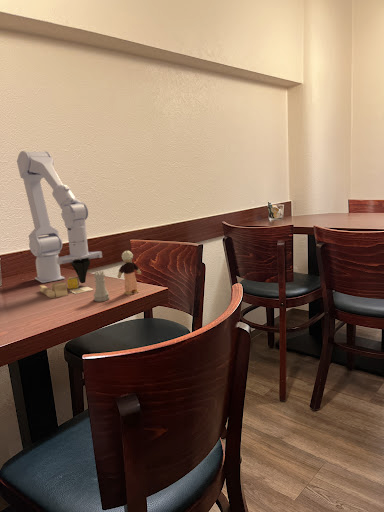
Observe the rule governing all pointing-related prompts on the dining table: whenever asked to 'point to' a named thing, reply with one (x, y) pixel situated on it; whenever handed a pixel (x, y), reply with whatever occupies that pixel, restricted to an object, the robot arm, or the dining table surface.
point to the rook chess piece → (100, 288)
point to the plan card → (81, 290)
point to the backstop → (47, 291)
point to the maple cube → (59, 289)
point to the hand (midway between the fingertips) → (82, 282)
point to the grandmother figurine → (129, 273)
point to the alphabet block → (73, 282)
